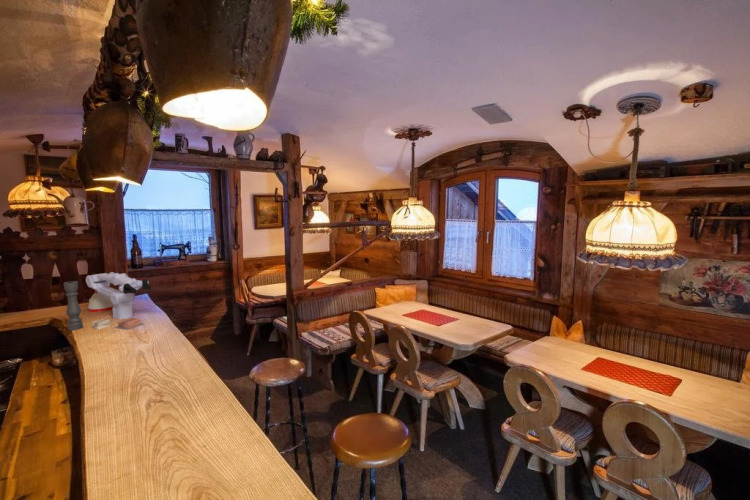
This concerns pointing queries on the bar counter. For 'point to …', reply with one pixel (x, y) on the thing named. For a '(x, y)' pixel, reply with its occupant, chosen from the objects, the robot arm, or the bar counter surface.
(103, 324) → the ash brick
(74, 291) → the candle holder
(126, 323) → the terracotta brick
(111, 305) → the white and red dome
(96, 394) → the bar counter surface
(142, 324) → the base plate
